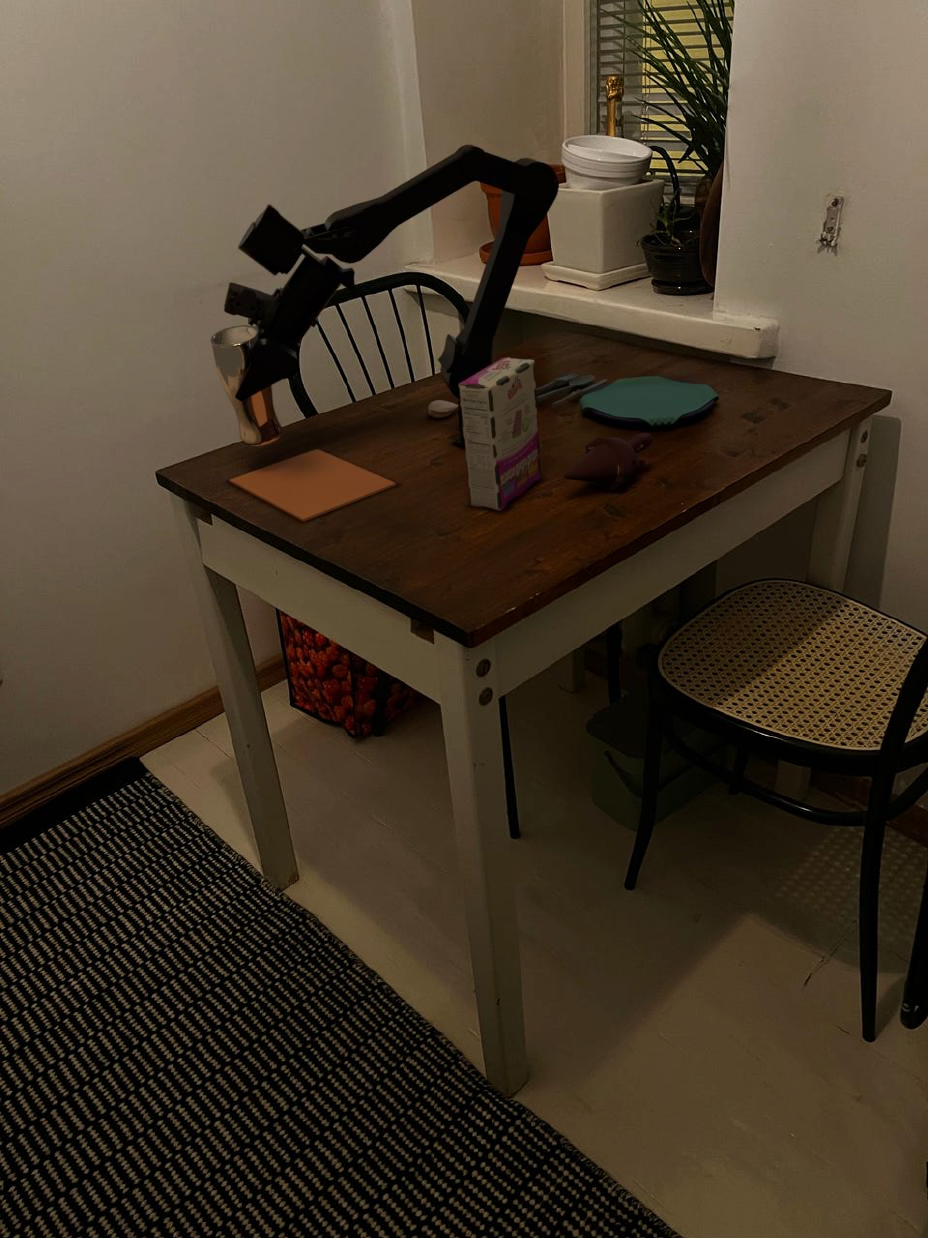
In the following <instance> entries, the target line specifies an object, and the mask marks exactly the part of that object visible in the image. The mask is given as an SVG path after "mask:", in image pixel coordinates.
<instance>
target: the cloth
mask: <svg viewBox="0 0 928 1238" xmlns="http://www.w3.org/2000/svg"><path fill="white" fill-rule="evenodd" d="M228 481H229V483H230V484H232V485H234V486H236V487H238V488H239V489H242V490H243V491H245V492H247V493H249V494H251V495H252V496H255V497H256V498H258V499H260V500H262V501H263V502H265V503H267V504H269V505H271V506H273V507H275V508H277V509H279V510H280V511H283V512H284V513H286V514H288V515H290V516H291V517H293V518H295V519H297V520H298V521H301V522H302V523H305V522H307V521H309V520H312V519H314V518H317V517H319V516H322V515H324V514H328V513H331V512H333V511H334V510H337V509H340V508H342V507H345V506H348V505H350V504H353V503H355V502H359V501H360V500H363V499H365V498H368V497H370V496H373V495H376V494H378V493H380V492H384V491H386V490H389V489H391V488H393V487H395V486H397V482H395V481H392V480H390V479H389V478H385V477H383V476H381V475H379V474H376V473H374V472H372V471H369V470H367V469H366V468H362V467H360V466H358V465H356V464H354V463H351V462H348V461H346V460H344V459H341V458H339V457H337V456H335V455H332V454H330V453H328V452H325V451H323V450H320V449H318V448H316V449H313V450H310V451H308V452H305V453H301V454H299V455H296V456H293V457H290V458H287V459H284V460H282V461H279V462H276V463H272V464H270V465H267V466H264V467H261V468H259V469H256V470H253V471H250V472H248V473H243V474H242V475H239V476H236V477H233V478H230V479H229V480H228Z"/></svg>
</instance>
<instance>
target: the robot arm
mask: <svg viewBox="0 0 928 1238" xmlns="http://www.w3.org/2000/svg"><path fill="white" fill-rule="evenodd" d="M473 182H478V183H481V184H484V185H487V186H489V187H492V188H495V189H497V190H501V196H500V203H499V205H500V206H499V223H498V228H497V231H496V234H495V237H494V240H493V243H492V246H491V249H490V250H489V251H490V252H489V255H488V257H487V260H486V263H485V265H484V269H483V272H482V275H481V278H480V281H479V284H478V287H477V290H476V292H475V295H474V297H473V298H474V299H473V302H472V304H471V307H470V310H469V313H468V316H467V318H466V322H465V324H464V327H463V328H462V329H461V330H460V332H459V333H458V335H457V336H456V337H455V336H453V335H451V334H449V333H447V334H446V337H445V341H444V348H443V351H442V353H441V355H440V356H439V357H438V358H437V361H438V363H439V364H440V369H439V370H440V376H441V378H442V380H443V382H444V383H445V384H446V386H447V388H448V390H449V391H450V392H451V393H450V394H452V395H453V396H454V397H455V398H456V399H458V401H457V405H458V410H457V415H458V427H459V436H460V437H458V438H454V439H453V440H452V442H453V445H456V446H459V447H462V448H464V449H465V443H464V434H463V425H462V415H461V405H460V395H459V386H458V384H459V383H461V382H463V381H465V380H466V379H468V378H470V377H471V376H473V375H475V374H476V373H478V372H480V371H481V370H483V369H485V368H486V367H488V366H490V365H492V364H493V353H494V352H493V351H494V349H493V348H494V339H495V335H496V333H497V331H498V327H499V324H500V322H501V319H502V316H503V313H504V310H505V308H506V305H507V303H508V300H509V297H510V293H511V291H512V289H513V285H514V282H515V280H516V277H517V274H518V272H519V268H520V266H521V263H522V260H523V257H524V255H525V252H526V249H527V246H528V243H529V241H530V238H531V237H532V235H534V233H535V232H536V230H537V229H538V227H540V225H541V224H542V223H543V221H544V220H545V218H546V217H547V215H548V213H549V211H550V209H551V207H552V206H553V204H554V202H555V201H556V198H557V196H558V193H559V189H560V181H559V178H558V176H557V172H556V171H555V170H554V168H553V167H552V166H551V165H549V164H547V163H546V162H543V161H540V160H537V159H535V158H530V157H522V158H519V159H517V160H515V161H512V160H509V159H507V158H504V157H501V156H499V155H496V154H494V153H491V152H487V151H485V150H484V149H483V148H481V147H479V146H476V145H474V144H464V145H462V146H460V147H458V148H457V149H456V151H455V152H454V153H452V154H450V155H449V156H447V157H445V158H443V159H442V160H440V161H438V162H437V163H435V164H434V165H431V166H430V167H428V168H427V169H425V170H424V171H421V172H420V173H418V174H416V175H415V176H413V177H411V178H410V179H408V180H406V181H405V182H403V183H401V184H400V185H398V186H396V187H395V188H393V189H391V190H390V191H388V192H386V193H384V194H383V195H381V196H378V197H376V198H372V199H369V200H366V201H361V202H358V203H355V204H352V205H349V206H347V207H344V208H342V209H338V210H336V211H334V212H332V213H331V214H330V215H329V216H327V218H326V220H325V221H324V222H323V223H319V224H316V225H312V226H308V227H305V228H302V229H300V228H299V227H297V226H296V225H295V224H293V223H292V222H291V221H290V220H288V219H287V218H286V217H284V216H283V215H282V213H281V212H279V210H278V209H277V208H275V207H274V206H273V205H272V204H270V203H269V204H267V205H266V207H265V208H264V209H263V211H262V212H261V213H260V214H259V215H258V217H257V218H256V219H255V221H252V222H251V223H250V225H249V227H248V228H247V230H246V231H245V233H244V235H243V236H242V238H241V240H240V242H239V244H238V246H237V249H238V250H239V251H241V252H242V253H243V254H245V255H246V256H247V257H249V258H250V260H253V261H254V262H255V263H257V264H258V265H259V266H261V267H262V268H263V269H265V270H266V271H267V272H269V273H270V274H271V275H273V276H274V277H275V276H277V275H278V274H279V273H280V274H281V275H288V274H289V273H290V272H291V271H292V269H293V268H294V267H295V265H296V264H297V262H298V261H299V259H300V257H302V255H303V258H302V260H301V261H300V262H299V264H298V266H297V267H296V268H295V270H294V271H293V272H292V274H291V275H290V277H289V278H288V280H287V281H286V283H285V284H284V285H283V287H279V288H275V290H274V292H273V293H272V294H270V293H267V292H263V291H262V290H259V289H256V288H252V287H250V286H246V285H243V284H239V283H236V282H229V283H228V287H227V291H226V295H225V300H224V305H223V311H224V313H226V314H228V315H230V316H240V317H244V318H247V325H249V326H254V327H256V328H258V329H259V331H260V333H257V334H256V336H255V337H254V339H253V340H252V342H251V344H250V346H249V345H248V355H249V359H250V364H249V366H248V368H247V371H246V373H245V375H244V377H243V379H242V381H241V384H240V386H239V388H238V390H237V393H236V395H235V398H236V399H238V400H239V401H241V402H242V401H244V400H246V399H247V398H249V397H251V396H253V395H254V394H256V393H258V392H260V391H262V390H263V389H265V388H267V387H269V386H271V385H272V386H273V385H275V384H277V383H279V382H281V381H282V380H284V381H285V380H289V381H292V379H293V378H294V377H295V375H296V373H297V372H298V371H299V369H300V368H299V367H300V366H299V361H298V357H297V352H298V351H299V350H300V348H301V342H302V340H303V339H304V337H305V335H306V334H307V333H308V331H309V330H310V329H311V328H315V327H316V326H317V324H318V323H319V320H318V317H319V316H320V315H321V313H322V312H323V310H324V309H325V308H326V306H327V305H328V303H329V302H330V301H331V299H332V298H333V296H334V295H335V294H336V292H337V291H338V289H339V288H340V287H341V285H342V286H343V287H344V288H346V289H347V290H348V291H349V292H351V293H353V294H354V293H356V292H357V288H356V282H355V274H356V272H355V269H354V268H353V267H347V268H343V267H342V266H341V265H340V264H338V263H337V262H336V261H334V260H333V259H332V258H331V257H329V256H328V255H331V256H332V257H333V258H334V259H336V260H337V261H339V262H342V263H345V264H349V265H350V264H356V263H358V262H361V261H362V260H363V259H365V258H366V257H367V256H368V255H369V254H371V253H372V252H373V251H374V250H375V249H376V248H377V247H379V246H380V245H381V244H382V243H383V242H384V240H386V238H387V237H388V236H389V235H390V234H391V233H392V232H393V231H394V230H396V229H397V228H398V227H399V226H400V225H402V224H404V223H405V222H407V221H409V220H410V219H412V218H414V217H416V216H418V215H419V214H421V213H423V212H424V211H426V210H427V209H429V208H431V207H433V206H434V205H436V204H437V203H439V202H441V201H442V200H444V199H446V198H448V197H450V196H451V195H453V194H454V193H456V192H458V191H460V190H461V189H463V188H465V187H467V186H468V185H470V184H471V183H473ZM307 248H308V249H307ZM309 250H310V251H309ZM311 251H312V252H313V253H314V254H313V253H312V252H311ZM315 254H317V255H326V256H323V258H322V259H320V258H319V257H318V256H316V255H315Z"/></svg>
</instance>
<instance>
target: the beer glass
mask: <svg viewBox="0 0 928 1238" xmlns="http://www.w3.org/2000/svg"><path fill="white" fill-rule="evenodd" d="M257 333H260V331H259V329H258V328H256V327H255V325H252V326H251V325H250V324H242V325H233V326H230V327H226V328H223V329H221V330H219V331H217V332H215V333H214V334H213V335H212V336H211V337H210V344H211V349H212V354H213V359H214V363H215V367H216V370H217V374H218V378H219V380H220V383H221V385H222V387H223V389H224V392H225V393H226V395H227V397H228V399H229V401H230V404H231V406H232V408H233V410H234V412H235V415H236V418H237V421H238V429H239V439H240V441H241V443H242V444H244V445H246V446H250V447H260V446H266V445H269V444H271V443H274V442H275V441H277V440H279V439H280V438H281V437H282V435H283V434H284V429H283V426H282V424H281V423H280V420H279V418H278V416H277V413H276V410H275V406H274V404H275V403H274V396H273V385H271V386H269V387H267V388H265V389H263V390H262V391H260V392H258V393H256V394H254V395H253V396H251V397H249V398H247V399H246V400H244V401H242V402H241V401H239V400H238V399H236V398H235V395H236V393H237V390H238V388H239V386H240V384H241V381H242V379H243V377H244V375H245V373H246V371H247V368H248V366H249V364H250V359H249V355H248V345H249V346H250V344H251V342H252V340H253V339H254V337H255V336H256V334H257Z"/></svg>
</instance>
